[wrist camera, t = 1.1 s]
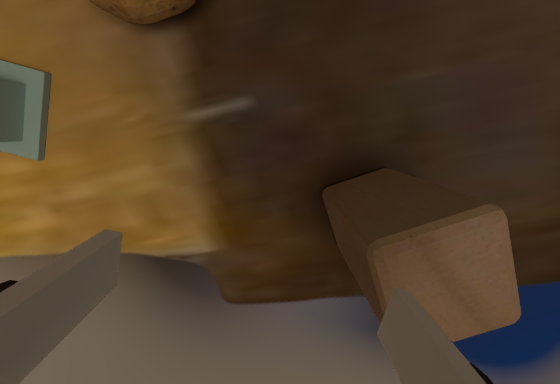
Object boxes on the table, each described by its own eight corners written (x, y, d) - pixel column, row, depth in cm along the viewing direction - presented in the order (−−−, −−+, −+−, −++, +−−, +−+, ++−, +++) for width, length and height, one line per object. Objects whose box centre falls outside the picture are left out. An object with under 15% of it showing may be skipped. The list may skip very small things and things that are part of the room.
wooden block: (338, 250, 40) (400, 364, 21) (318, 187, 38) (367, 250, 18) (403, 229, 40) (530, 325, 20) (387, 164, 37) (512, 203, 18)
